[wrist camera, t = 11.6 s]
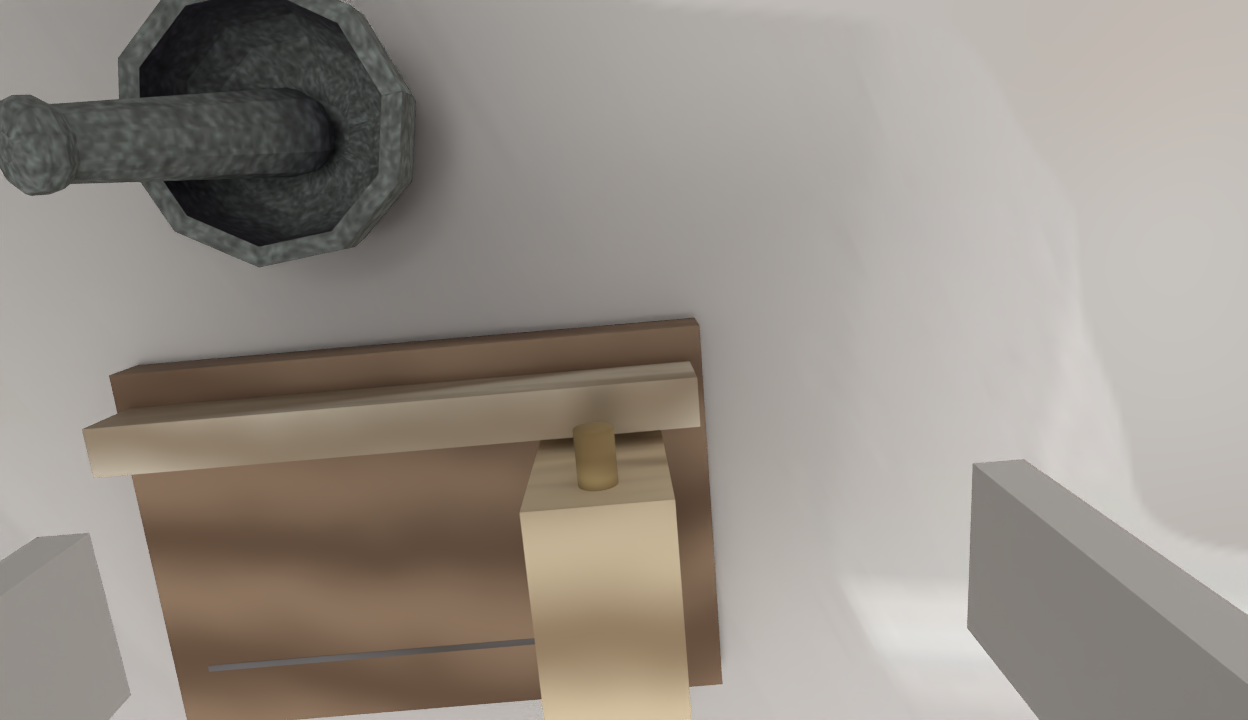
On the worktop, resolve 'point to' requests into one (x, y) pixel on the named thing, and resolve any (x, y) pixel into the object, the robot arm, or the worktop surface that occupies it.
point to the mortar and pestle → (236, 127)
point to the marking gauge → (605, 577)
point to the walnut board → (385, 510)
